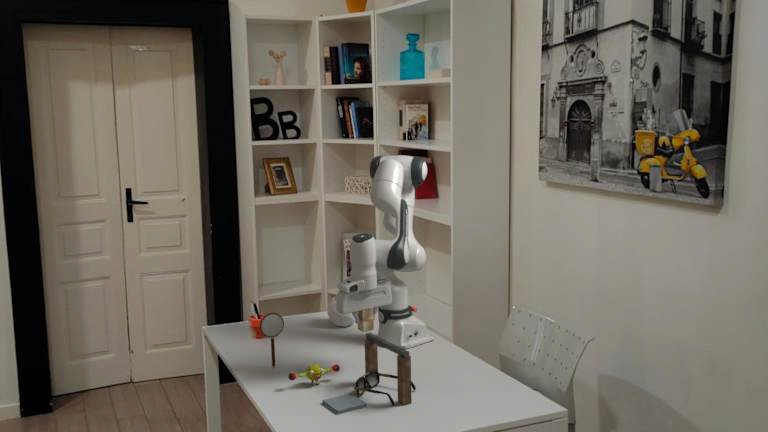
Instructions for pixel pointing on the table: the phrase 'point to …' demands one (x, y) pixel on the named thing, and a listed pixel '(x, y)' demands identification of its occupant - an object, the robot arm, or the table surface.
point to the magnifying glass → (272, 329)
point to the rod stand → (402, 371)
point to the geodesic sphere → (339, 315)
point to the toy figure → (314, 373)
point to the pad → (344, 403)
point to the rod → (387, 345)
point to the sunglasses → (373, 383)
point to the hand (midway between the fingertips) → (365, 321)
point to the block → (366, 320)
